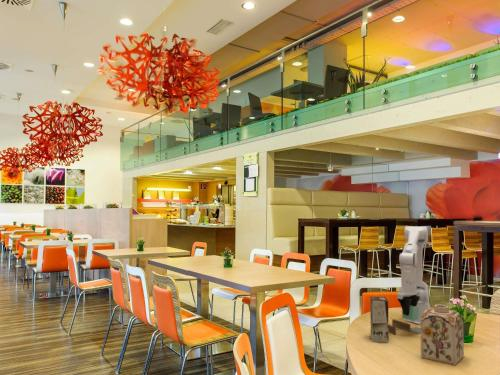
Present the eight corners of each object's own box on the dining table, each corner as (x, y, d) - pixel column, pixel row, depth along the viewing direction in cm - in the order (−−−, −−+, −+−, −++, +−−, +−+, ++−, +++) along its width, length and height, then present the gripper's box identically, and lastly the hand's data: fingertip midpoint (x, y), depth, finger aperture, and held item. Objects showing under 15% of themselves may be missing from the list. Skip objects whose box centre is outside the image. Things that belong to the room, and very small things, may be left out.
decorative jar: (430, 349, 159) (429, 300, 160) (464, 356, 152) (463, 305, 153) (420, 358, 150) (419, 306, 151) (455, 366, 143) (454, 311, 143)
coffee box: (389, 342, 167) (388, 301, 168) (372, 341, 168) (371, 300, 169) (386, 336, 176) (386, 296, 176) (370, 335, 177) (370, 295, 178)
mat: (416, 327, 188) (416, 326, 188) (429, 331, 182) (429, 330, 182) (404, 329, 185) (404, 328, 185) (418, 333, 179) (418, 333, 179)
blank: (407, 316, 182) (407, 304, 182) (418, 319, 178) (418, 306, 178) (402, 317, 179) (402, 305, 179) (413, 320, 175) (413, 308, 175)
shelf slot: (394, 326, 190) (394, 319, 191) (410, 331, 182) (410, 324, 183) (377, 329, 186) (377, 322, 186) (393, 334, 178) (393, 327, 178)
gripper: (409, 278, 187) (409, 309, 187) (390, 281, 178) (390, 314, 177) (424, 280, 182) (424, 312, 181) (405, 284, 172) (406, 318, 172)
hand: (409, 313), depth 179 cm, fingers closed on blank, 4 cm apart
